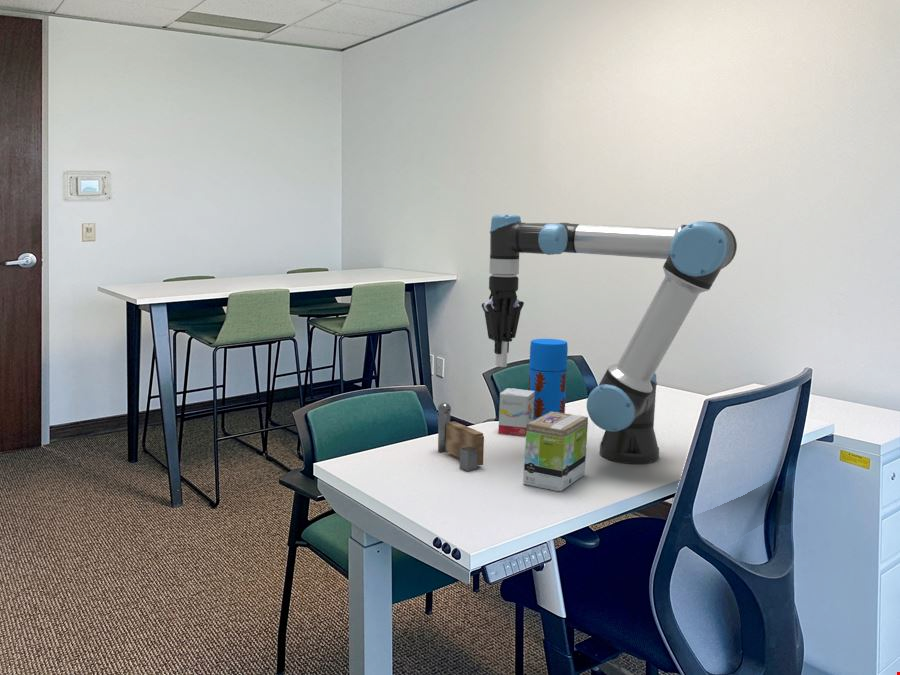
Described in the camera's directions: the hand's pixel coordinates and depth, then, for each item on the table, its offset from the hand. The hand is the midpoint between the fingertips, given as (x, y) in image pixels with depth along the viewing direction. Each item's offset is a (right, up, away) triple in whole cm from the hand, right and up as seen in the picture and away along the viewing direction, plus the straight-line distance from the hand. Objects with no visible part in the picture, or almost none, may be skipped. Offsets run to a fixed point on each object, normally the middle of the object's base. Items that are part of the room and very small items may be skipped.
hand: (501, 365), depth 212 cm
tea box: (+11, -26, -20) cm, 35 cm away
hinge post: (-15, -22, +1) cm, 27 cm away
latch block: (-9, -25, -14) cm, 29 cm away
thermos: (+15, -19, +29) cm, 38 cm away
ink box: (+6, -20, +21) cm, 30 cm away
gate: (-10, -23, -7) cm, 26 cm away
